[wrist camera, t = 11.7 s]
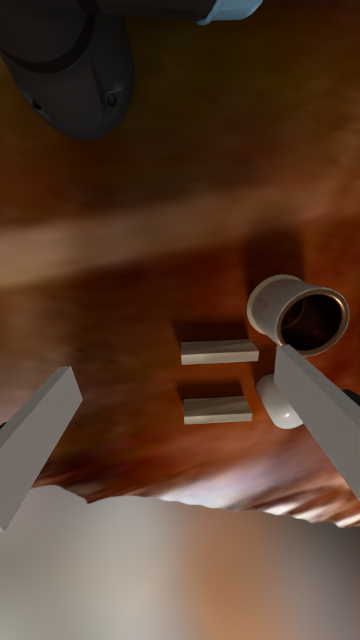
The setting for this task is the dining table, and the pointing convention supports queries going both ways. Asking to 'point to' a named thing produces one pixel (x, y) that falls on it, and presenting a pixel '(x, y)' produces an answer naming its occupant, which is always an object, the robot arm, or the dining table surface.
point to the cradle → (221, 406)
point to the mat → (256, 291)
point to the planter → (301, 315)
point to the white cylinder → (276, 403)
